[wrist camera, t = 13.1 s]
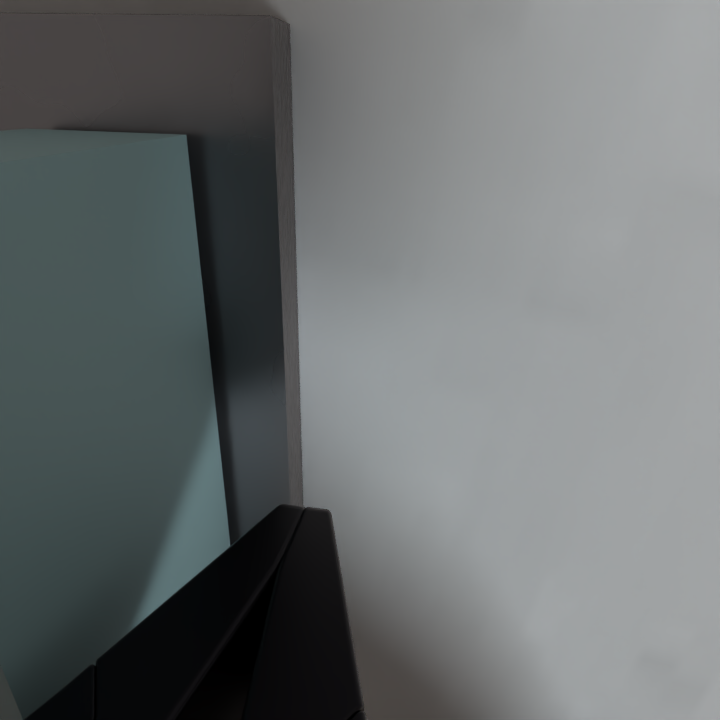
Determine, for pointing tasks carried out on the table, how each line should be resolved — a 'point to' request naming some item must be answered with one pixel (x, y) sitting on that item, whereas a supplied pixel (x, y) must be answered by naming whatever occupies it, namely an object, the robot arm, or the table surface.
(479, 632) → the table surface
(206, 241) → the vise base
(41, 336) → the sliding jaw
